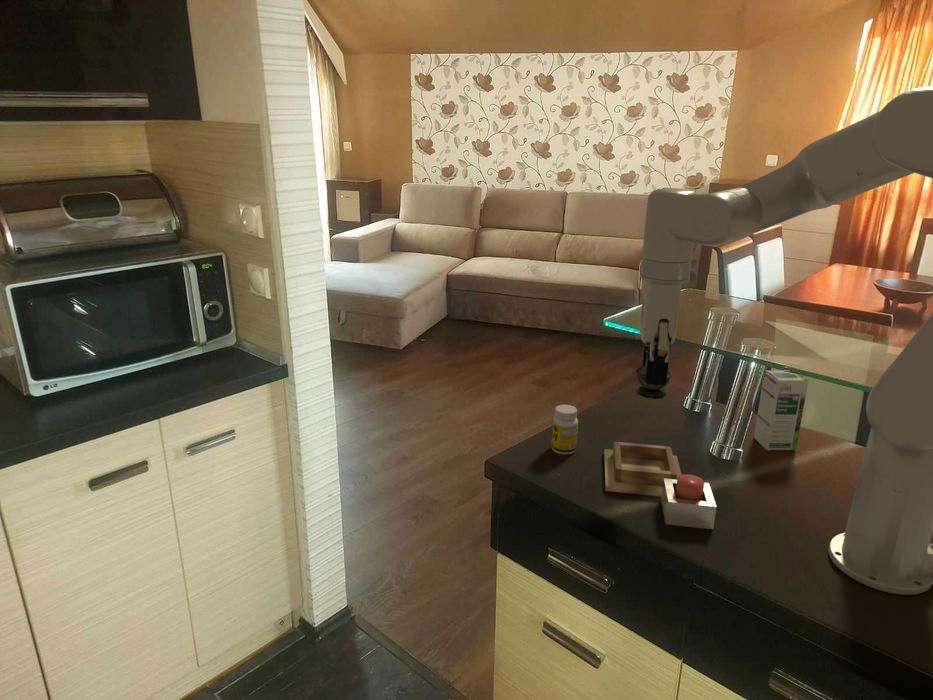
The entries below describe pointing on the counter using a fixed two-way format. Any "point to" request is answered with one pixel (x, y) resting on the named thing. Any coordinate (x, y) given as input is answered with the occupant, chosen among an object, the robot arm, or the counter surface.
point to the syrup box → (780, 410)
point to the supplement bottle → (564, 430)
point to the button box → (688, 507)
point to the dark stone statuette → (651, 389)
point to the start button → (689, 487)
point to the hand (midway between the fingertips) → (653, 375)
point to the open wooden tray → (639, 468)
